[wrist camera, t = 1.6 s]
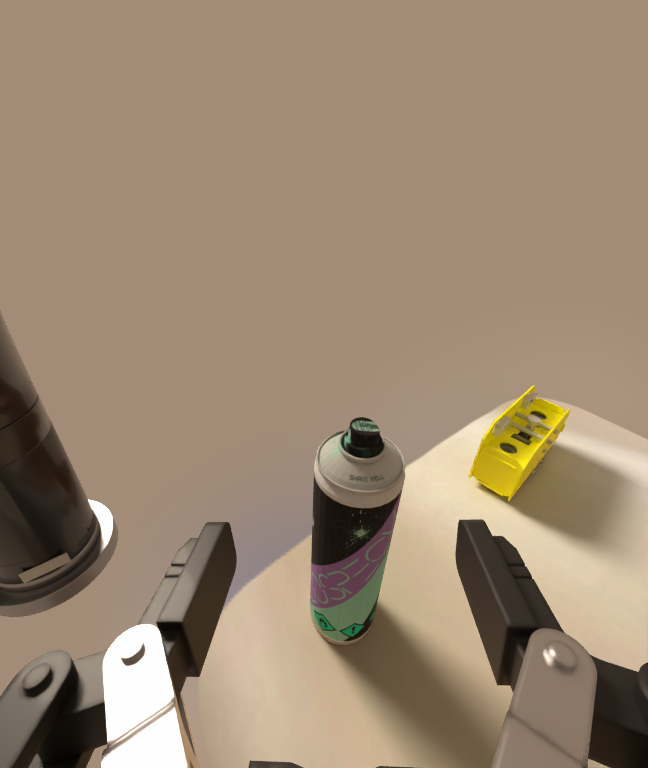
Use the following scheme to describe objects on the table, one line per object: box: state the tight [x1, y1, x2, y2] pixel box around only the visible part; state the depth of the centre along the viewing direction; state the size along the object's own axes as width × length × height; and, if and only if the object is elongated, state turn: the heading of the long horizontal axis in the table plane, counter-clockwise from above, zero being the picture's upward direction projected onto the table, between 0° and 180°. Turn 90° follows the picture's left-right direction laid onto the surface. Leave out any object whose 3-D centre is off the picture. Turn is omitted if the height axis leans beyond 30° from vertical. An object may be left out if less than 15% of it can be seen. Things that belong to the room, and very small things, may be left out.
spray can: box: [310, 417, 405, 645], centre depth 25 cm, size 6×6×20 cm
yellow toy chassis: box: [469, 385, 570, 501], centre depth 44 cm, size 16×6×8 cm, turn 133°
